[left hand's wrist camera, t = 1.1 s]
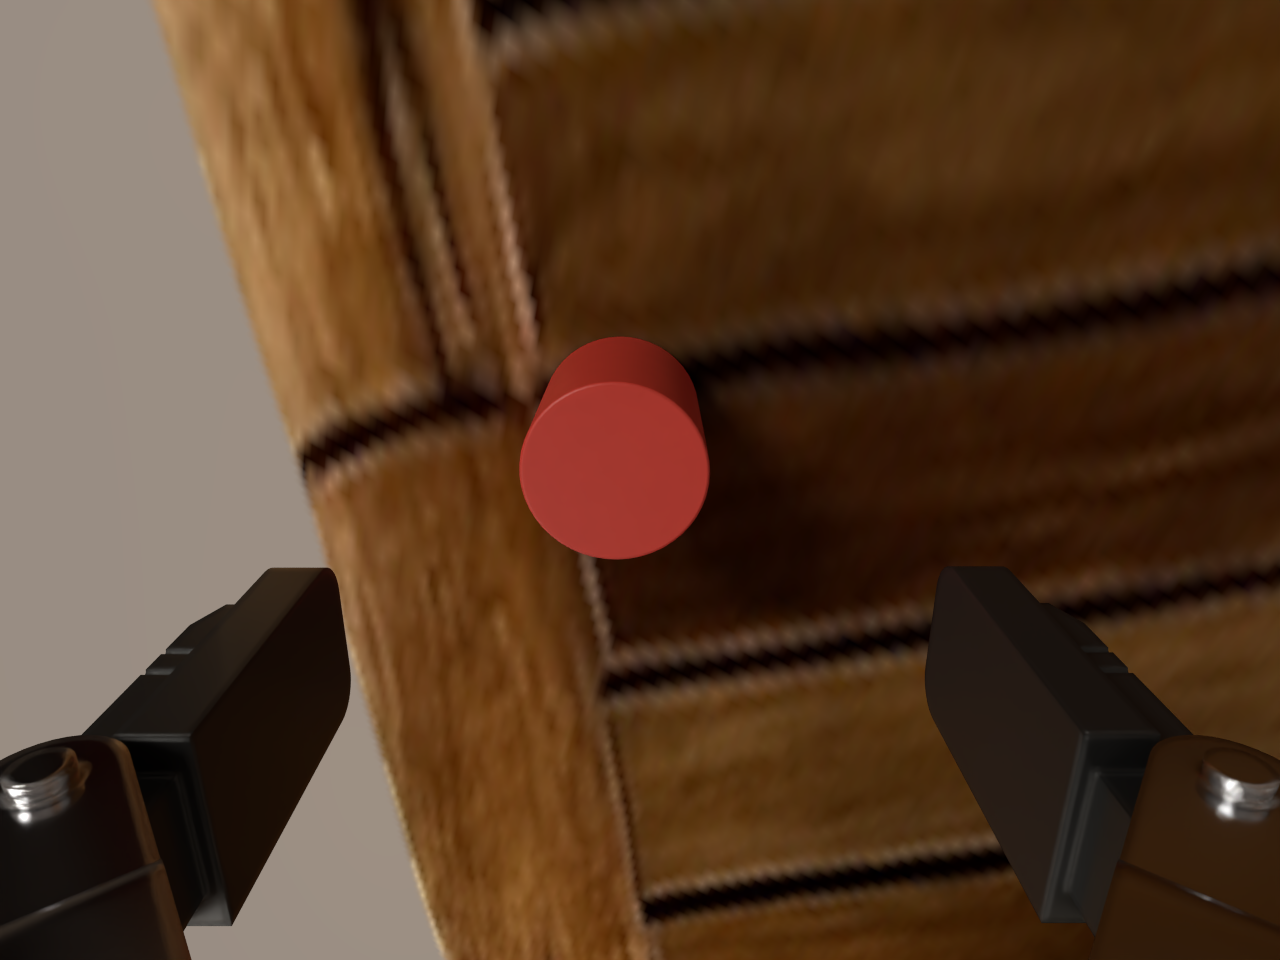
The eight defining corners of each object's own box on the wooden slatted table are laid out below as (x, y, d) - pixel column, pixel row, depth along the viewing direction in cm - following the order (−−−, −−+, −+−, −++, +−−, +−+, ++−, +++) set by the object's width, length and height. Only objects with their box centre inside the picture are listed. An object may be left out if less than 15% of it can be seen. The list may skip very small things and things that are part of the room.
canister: (637, 511, 22) (634, 592, 18) (513, 427, 21) (482, 492, 17) (729, 397, 20) (749, 457, 16) (603, 303, 20) (591, 341, 16)
